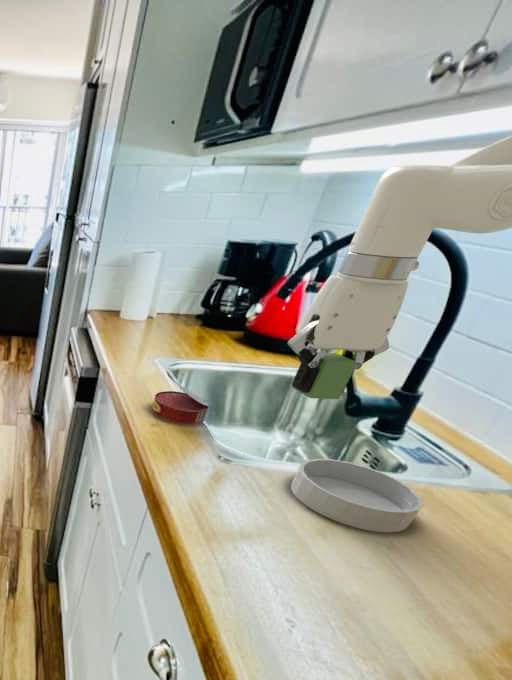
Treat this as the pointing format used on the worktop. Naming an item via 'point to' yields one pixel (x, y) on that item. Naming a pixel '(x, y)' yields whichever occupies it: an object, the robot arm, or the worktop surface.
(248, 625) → the worktop surface
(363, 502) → the basin
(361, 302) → the robot arm
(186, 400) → the canned food
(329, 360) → the green block
